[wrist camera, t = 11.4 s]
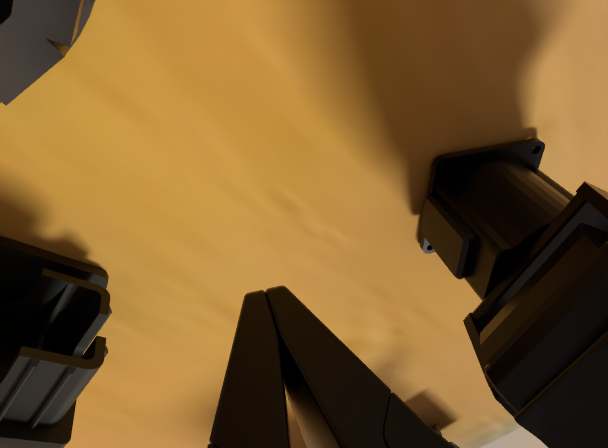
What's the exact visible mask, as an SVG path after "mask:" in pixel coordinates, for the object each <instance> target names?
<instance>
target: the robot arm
mask: <svg viewBox="0 0 608 448" xmlns="http://www.w3.org/2000/svg"><path fill="white" fill-rule="evenodd" d="M544 149H545V144H544V143H543V142H542V141H540V140H539V139H537V138H533V139H528V140H522V141H517V142H511V143H506V144H500V145H494V146H489V147H483V148H478V149H472V150H467V151H461V152H455V153H450V154H444V155H440V156H438V157H437V158H436V159H435V160H434V161H433V164H432V169H431V175H430V182H429V189H428V194H427V196H426V198H425V204H424V211H423V218H422V224H421V233H422V235H421V241H420V247H421V249H422V250H423V251H424V253H427V254H428V253H434V252H436V253H437V254H438V256H439V257H440V258H441V259H442V261H443V262H444V263H445V265H446V266H447V267H448V269H449V270H450V271H451V273H452V274H453V275H454V276H455V277H456V278H458V279H463V278H465V280H466V281H467V282H468V283H469V285H470V286H471V287H472V289H473V290H474V291H475V292H476V294H477V295H478V296H479V297H480V299H481V300H482V302H481V303H480V305H479V306H478V307H477V308H476V309H475V310H474V311H473V313H469V314H468V316H467V317H466V318H465V319H464V320H463V322H464V324H465V327H466V329H467V332H468V335H469V337H470V340H471V342H472V345H473V347H474V350H475V353H476V355H477V358H478V360H479V363H480V365H481V368H482V370H483V373H484V376H485V378H486V381H487V383H488V385H489V387H490V389H491V391H492V393H493V395H494V397H495V399H496V400H497V401H498V402H499V403H501V404H502V406H503V407H504V408H505V409H506V410H507V411H508V412H509V413H510V414H511V415H512V416H513V417H514V419H515V421H516V422H517V423H518V424H519V425H521V426H522V427H524V428H525V429H526V430H528V431H529V432H530V433H532V434H533V435H534V436H536V437H537V438H538V439H540V440H541V441H542V442H543V443H544V444H545V445H546V446H547V447H548V448H608V192H606V191H604V190H602V189H600V188H598V187H596V186H594V185H591V184H589V183H587V182H585V181H584V182H583V184H582V185H581V186H580V187H579V188H578V189H577V190H576V192H577V194H576V195H575V196H573V195H572V194H571V193H569V192H568V191H567V190H565V189H564V188H563V187H561V186H560V185H559V184H557V183H556V182H555V181H553V180H552V179H551V178H549V177H548V176H547V175H545V174H544V173H543V172H541V171H540V170H539V169H538V168H539V164H540V161H541V158H542V155H543V152H544ZM443 163H445V164H444V165H443V166H442V167H441V165H442V164H443ZM428 245H429V246H428ZM285 389H286V393H287V396H288V399H289V401H290V404H291V407H292V410H293V412H294V415H295V418H296V420H297V423H298V426H299V428H300V431H301V434H302V436H303V439H304V442H305V444H306V447H307V448H455V447H454V446H453V445H452V444H450V443H449V442H448V441H447V440H446V439H444V438H443V437H442V436H441V435H440V434H438V433H437V432H436V431H435V430H433V429H432V428H431V427H430V426H429V425H428V424H427V423H425V422H424V421H423V420H422V419H421V418H420V417H419V416H418V415H417V414H416V413H415V412H414V411H412V410H411V409H410V408H409V407H408V406H407V405H406V404H405V403H404V402H403V401H402V400H401V399H400V398H399V397H398V396H397V395H396V394H395V393H391V390H390V388H388V387H387V386H386V385H385V384H384V383H383V382H382V381H381V380H380V379H379V378H378V377H377V376H376V375H375V374H374V373H373V372H372V371H371V370H370V369H369V368H368V367H367V366H366V365H365V364H364V363H363V362H362V361H361V360H360V359H359V358H358V357H357V356H356V355H355V354H354V353H353V352H352V351H351V350H350V349H349V348H348V347H347V346H346V345H345V344H344V343H343V342H342V341H341V340H339V339H338V338H337V337H336V336H335V335H334V334H333V333H332V332H331V331H330V330H329V329H328V328H327V327H326V326H325V325H324V324H323V323H322V322H321V321H320V320H319V319H318V318H317V317H316V316H315V315H314V314H313V313H312V312H311V311H310V310H309V309H308V308H307V307H306V306H305V305H304V304H303V303H302V302H301V301H300V300H299V299H298V298H297V297H296V296H295V295H294V294H293V293H292V292H290V291H289V290H288V289H287V288H286V287H285V286H277V287H273V288H268V289H267V290H266V291H265V292H264V291H263V290H259V291H255V292H250V293H247V294H246V295H245V296H244V300H243V304H242V308H241V312H240V316H239V320H238V324H237V328H236V333H235V337H234V341H233V345H232V349H231V353H230V357H229V361H228V366H227V370H226V374H225V378H224V382H223V386H222V390H221V394H220V398H219V403H218V407H217V411H216V415H215V419H214V423H213V427H212V431H211V436H210V440H209V441H210V444H208V447H207V448H291V440H290V430H289V421H288V412H287V403H286V394H285Z"/></svg>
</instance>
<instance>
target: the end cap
mask: <svg viewBox="0 0 608 448" xmlns="http://www.w3.org/2000/svg"><path fill="white" fill-rule="evenodd" d="M107 284H108V274H107V272H106V271H104V270H103V269H101V268H98V267H95V266H92V265H89V264H86V263H83V262H79V261H76V260H73V259H70V258H67V257H64V256H61V255H58V254H55V253H52V252H49V251H46V250H43V249H40V248H37V247H33V246H30V245H27V244H24V243H21V242H18V241H15V240H12V239H9V238H6V237H3V236H0V448H64V447H65V445H66V444H67V443H68V442H69V441H70V439H71V433H72V426H73V419H74V412H75V405H76V399H77V398H78V396H79V395H80V393H81V392H82V391H83V389H84V388H85V387H86V385H87V384H88V383H89V381H90V380H91V379H92V377H93V376H94V375H95V373H96V372H97V370H98V369H99V368H100V366H101V365H102V364H103V361H104V357H105V356H106V355H107V353H108V349H107V347H106V338H104V337H100V336H96V334H97V333H98V331H99V330H100V329H101V327H102V326H103V324H104V323H105V322H106V320H107V319H108V317H109V316H110V314H111V313H112V311H111V308H110V306H109V304H110V294H109V292H108V291H107V290H106V288H107ZM95 336H96V338H95V339H94V337H95ZM93 339H94V340H93ZM92 340H93V342H92V343H91V341H92ZM90 343H91V345H90V346H89V344H90ZM88 346H89V347H88ZM87 347H88V349H87V350H86V348H87ZM85 350H86V352H85V353H84V351H85ZM83 353H84V355H83Z"/></svg>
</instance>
